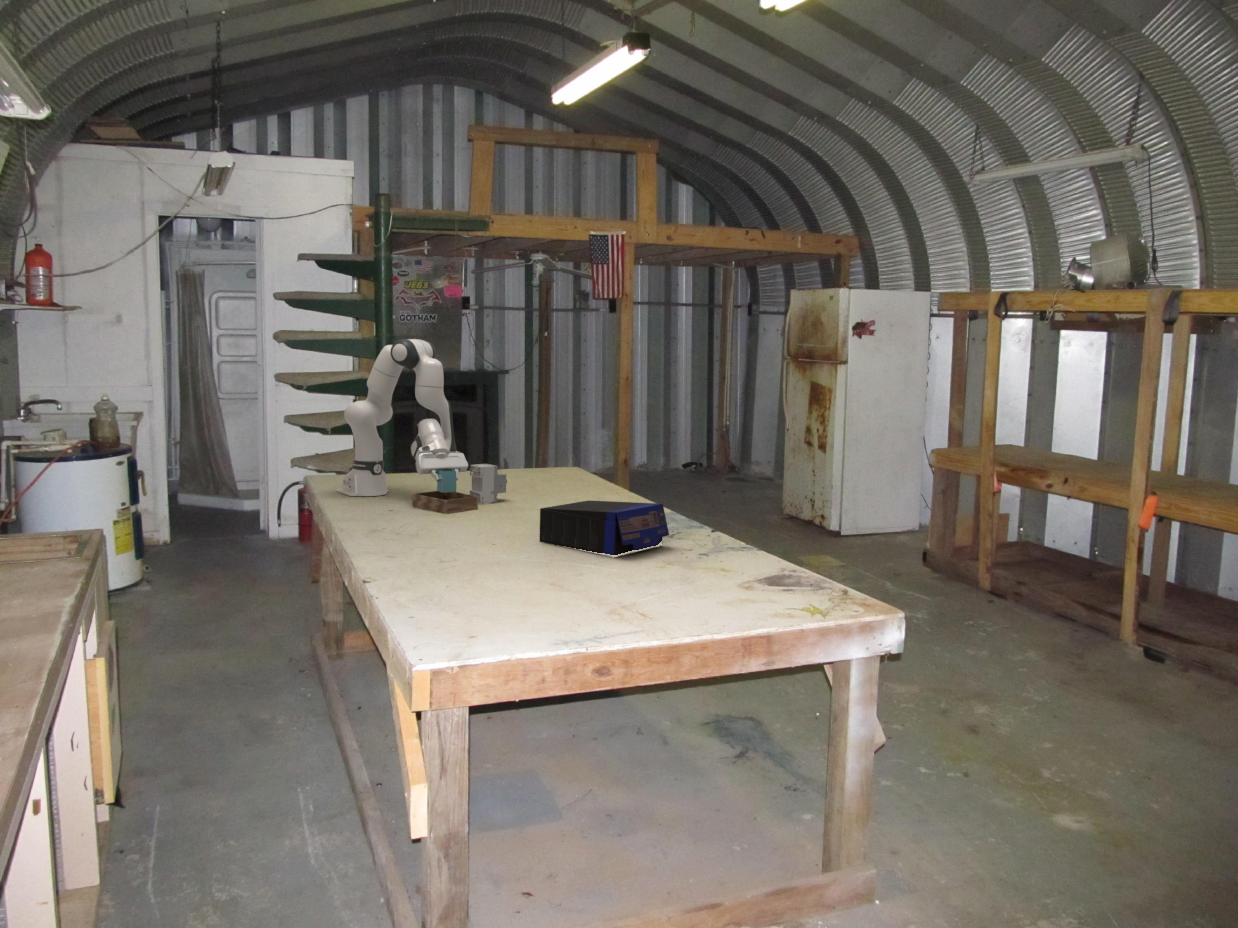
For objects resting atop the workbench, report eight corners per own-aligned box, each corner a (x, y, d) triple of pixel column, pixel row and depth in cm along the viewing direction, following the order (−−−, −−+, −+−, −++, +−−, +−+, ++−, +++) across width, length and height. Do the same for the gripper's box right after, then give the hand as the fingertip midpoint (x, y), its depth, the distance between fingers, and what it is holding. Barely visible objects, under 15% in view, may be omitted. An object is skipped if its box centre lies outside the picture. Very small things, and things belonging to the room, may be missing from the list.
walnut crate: (412, 506, 362) (412, 493, 362) (444, 502, 375) (444, 489, 374) (445, 513, 350) (445, 500, 349) (478, 508, 362) (478, 496, 361)
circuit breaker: (509, 501, 382) (509, 464, 380) (480, 504, 372) (480, 467, 370) (498, 498, 387) (498, 462, 385) (469, 501, 378) (470, 464, 376)
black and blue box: (621, 560, 285) (623, 513, 283) (538, 542, 307) (539, 499, 305) (669, 548, 304) (671, 504, 302) (588, 532, 326) (589, 491, 324)
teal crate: (437, 490, 362) (437, 470, 361) (450, 489, 365) (450, 469, 364) (442, 492, 357) (442, 471, 356) (456, 491, 360) (456, 471, 359)
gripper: (460, 456, 375) (470, 483, 368) (411, 458, 364) (420, 486, 357) (464, 446, 370) (474, 473, 363) (415, 448, 359) (424, 476, 352)
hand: (447, 480), depth 360 cm, fingers closed on teal crate, 6 cm apart
